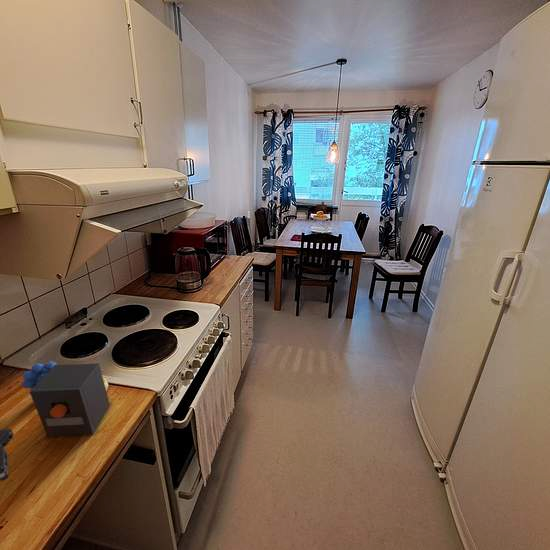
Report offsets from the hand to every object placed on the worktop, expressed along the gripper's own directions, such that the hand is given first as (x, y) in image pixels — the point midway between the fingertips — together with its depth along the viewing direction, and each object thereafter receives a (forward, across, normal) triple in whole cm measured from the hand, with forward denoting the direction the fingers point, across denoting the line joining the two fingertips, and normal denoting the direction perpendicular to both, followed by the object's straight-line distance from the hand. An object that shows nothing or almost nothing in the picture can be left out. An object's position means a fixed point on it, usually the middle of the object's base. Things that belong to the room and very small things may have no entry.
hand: (8, 431), depth 58 cm
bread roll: (+30, +2, +18) cm, 35 cm away
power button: (+13, 0, +10) cm, 16 cm away
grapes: (+30, +15, +18) cm, 38 cm away
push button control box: (+19, 0, +18) cm, 27 cm away
